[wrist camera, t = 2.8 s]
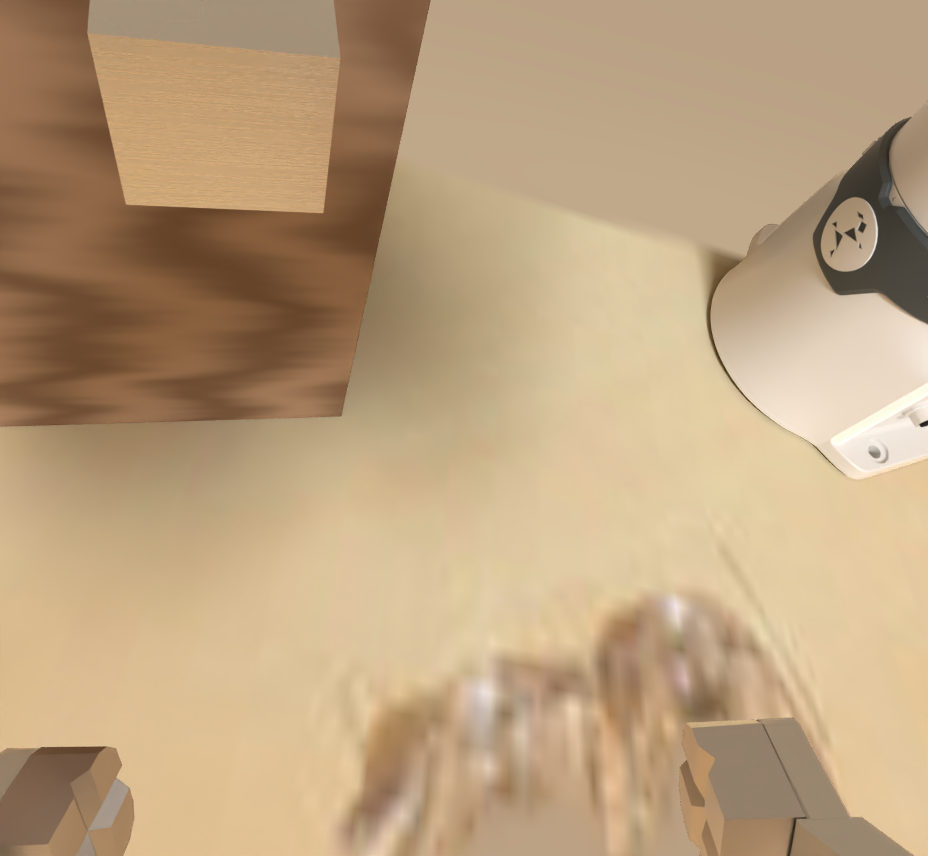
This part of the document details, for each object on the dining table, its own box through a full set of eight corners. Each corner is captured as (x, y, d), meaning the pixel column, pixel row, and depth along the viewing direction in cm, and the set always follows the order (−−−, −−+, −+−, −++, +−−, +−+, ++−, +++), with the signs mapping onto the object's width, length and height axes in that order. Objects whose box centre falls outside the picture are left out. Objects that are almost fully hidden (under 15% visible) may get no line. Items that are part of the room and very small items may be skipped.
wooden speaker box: (322, 211, 46) (384, -373, 23) (341, 416, 40) (448, -84, 17) (-199, 188, 38) (-865, -698, 16) (-263, 434, 33) (-1430, -378, 10)
